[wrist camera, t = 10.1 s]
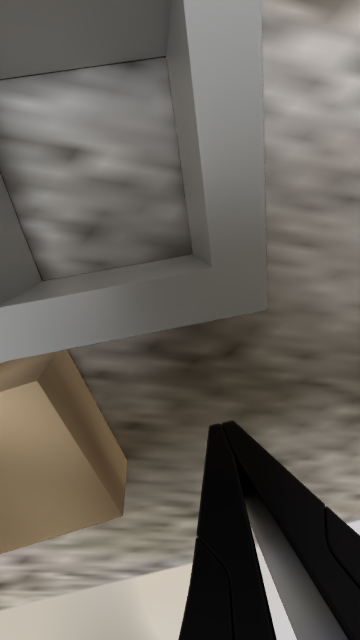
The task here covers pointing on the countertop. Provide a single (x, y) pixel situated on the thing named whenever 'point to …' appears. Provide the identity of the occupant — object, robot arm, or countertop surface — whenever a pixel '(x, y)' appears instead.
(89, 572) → the countertop surface
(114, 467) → the board
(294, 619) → the robot arm
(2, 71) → the socket block
